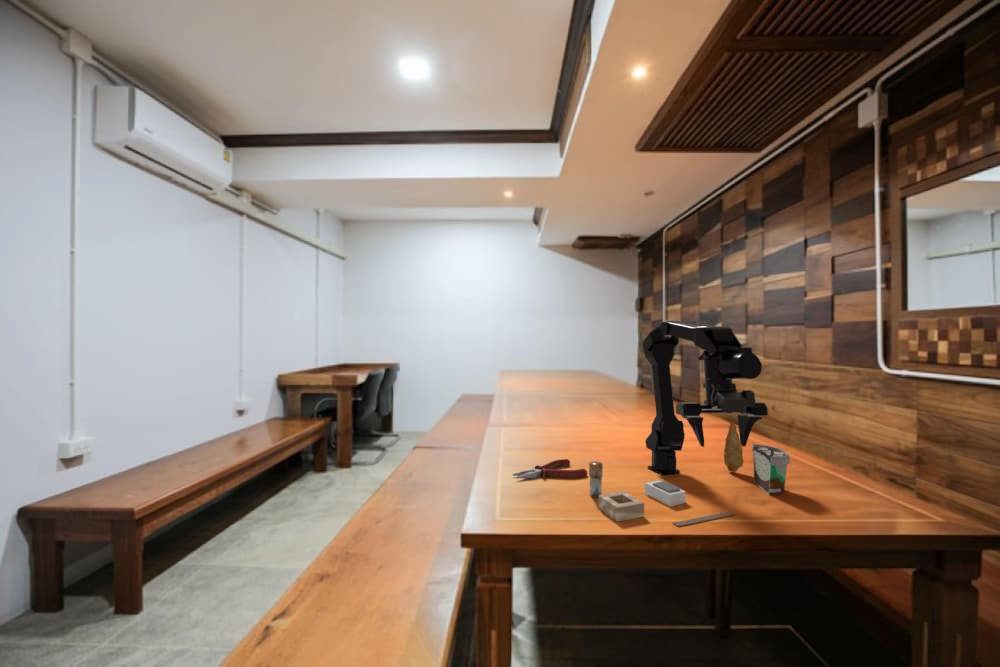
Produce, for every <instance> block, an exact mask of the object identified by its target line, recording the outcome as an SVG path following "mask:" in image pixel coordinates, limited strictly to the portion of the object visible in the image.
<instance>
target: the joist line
mask: <svg viewBox="0 0 1000 667" xmlns="http://www.w3.org/2000/svg"><path fill="white" fill-rule="evenodd" d="M735 515H736V514H735V513H733V512H731V511H725V512H720V513H715V514H710V515H706V516H704V515H703V516H699V517H694V518H691V519H684V520H680V521H675V522H672V524H673V526H675V527H678V528H679V527H683V526H689V525H694V524H699V523H704V522H709V521H713V520H718V519H723V518H728V517H733V516H735Z"/></svg>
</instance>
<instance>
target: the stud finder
mask: <svg viewBox="0 0 1000 667" xmlns="http://www.w3.org/2000/svg"><path fill="white" fill-rule="evenodd" d="M686 493H687V492H686V490H683V489H681V488H680V487H678V486H676V485H673V484H671V483H669V482H666V481H662V480H654V481H649V482H645V483H644V495H646V496H648V495H649V496H648V497H650V496H651V497H650V498H652V497H653V498H652V499H654V498H655V499H654V500H656V499H657V500H656V501H658V500H659V501H658V502H660V501H661V502H660V503H663V504H664V505H666V506H669V507H673V506H679V505H681V504H682V505H683V504H685V503H686V501H687V500H686V495H687V494H686Z"/></svg>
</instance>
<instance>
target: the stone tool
mask: <svg viewBox="0 0 1000 667" xmlns="http://www.w3.org/2000/svg"><path fill="white" fill-rule="evenodd" d="M729 424H730V425H729V428H728V432H727V435H726V438H725V444H724V449H723V451H724V452H723V453H724V454H723V460H724V465H725V466H726V467H727V468H726V469H727V470H728V472H733V473H736V472H737V471H738V470H739V469H740V468H742V467H743V465H744V457H743V455H744V454H743V446H741V441H740V435H739V433H738V431H737V426H736V425H735V422H734V420H731V421H730V422H729Z"/></svg>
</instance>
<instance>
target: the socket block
mask: <svg viewBox="0 0 1000 667" xmlns="http://www.w3.org/2000/svg"><path fill="white" fill-rule="evenodd" d="M598 509H599V510H600V511H601V512H603V513H605V514H606V515H607V516H608V517H610V518H611V519H612V520H614V521H616V522H622V521H623V522H624V521H628V520H633V519H634V520H635V519H639V518H643V517H645V503H644V502H643V501H641V499H638V498H636V497H634V496H633V495H631V494H630V493H627V492H626V491H618V492H610V493H605V494H602V495H599V498H598Z"/></svg>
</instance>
